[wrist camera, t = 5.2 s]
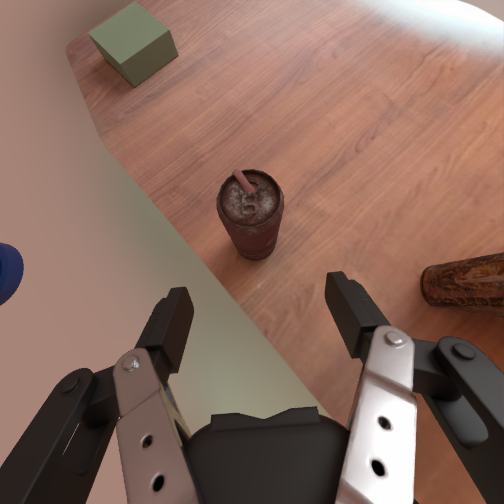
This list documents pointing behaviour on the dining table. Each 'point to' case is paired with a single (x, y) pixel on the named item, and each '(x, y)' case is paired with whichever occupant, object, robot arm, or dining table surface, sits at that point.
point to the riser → (134, 43)
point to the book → (467, 285)
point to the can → (251, 211)
